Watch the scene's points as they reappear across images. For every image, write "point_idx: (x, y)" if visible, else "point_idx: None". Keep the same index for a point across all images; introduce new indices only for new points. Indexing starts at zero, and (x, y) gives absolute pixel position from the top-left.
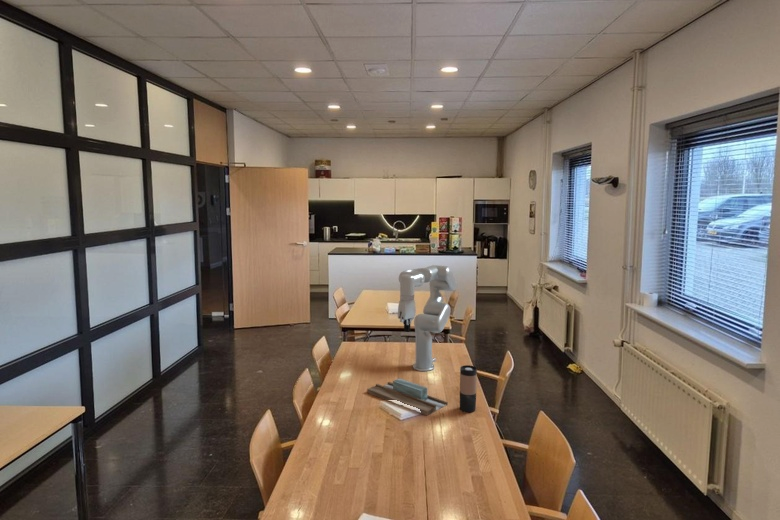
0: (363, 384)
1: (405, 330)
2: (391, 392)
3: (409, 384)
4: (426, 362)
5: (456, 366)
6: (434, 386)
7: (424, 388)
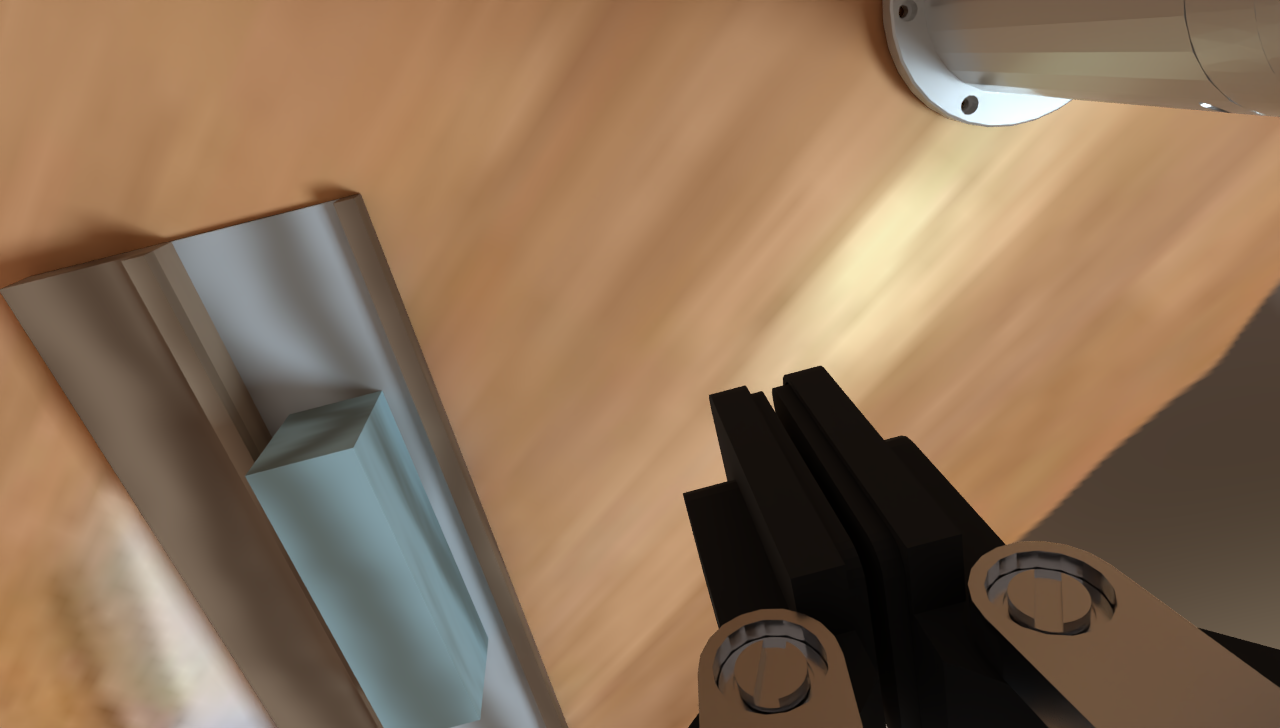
0: (53, 28)
1: (727, 461)
2: (232, 479)
3: (370, 609)
4: (1019, 90)
5: (1270, 178)
6: (715, 465)
7: (448, 719)
